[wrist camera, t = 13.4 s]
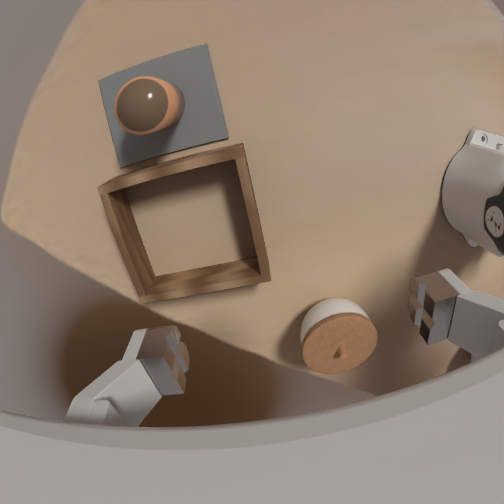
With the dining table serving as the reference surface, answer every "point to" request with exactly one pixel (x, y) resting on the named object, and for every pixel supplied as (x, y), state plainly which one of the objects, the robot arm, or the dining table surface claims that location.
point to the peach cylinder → (148, 105)
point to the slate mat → (195, 113)
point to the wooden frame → (191, 279)
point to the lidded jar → (336, 336)
